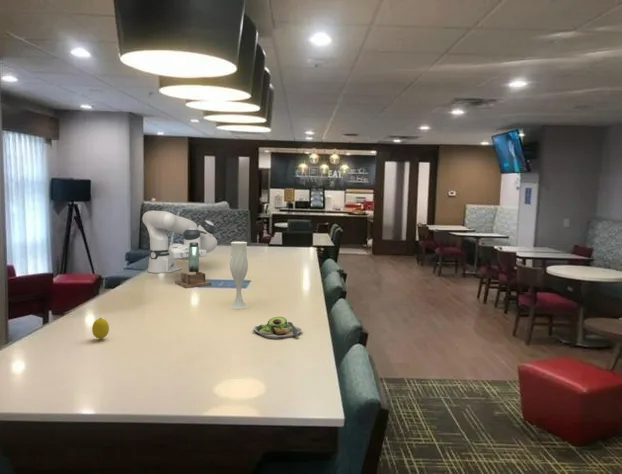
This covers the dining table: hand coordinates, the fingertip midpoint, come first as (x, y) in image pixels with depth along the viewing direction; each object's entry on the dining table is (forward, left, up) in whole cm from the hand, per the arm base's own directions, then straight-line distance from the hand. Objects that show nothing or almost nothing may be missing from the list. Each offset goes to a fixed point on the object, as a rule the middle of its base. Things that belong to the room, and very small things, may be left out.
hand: (194, 255), depth 282 cm
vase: (+34, +49, -17) cm, 62 cm away
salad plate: (+62, +83, -17) cm, 105 cm away
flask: (0, -1, -9) cm, 9 cm away
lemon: (+99, +31, -17) cm, 105 cm away
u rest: (0, -1, -17) cm, 17 cm away
